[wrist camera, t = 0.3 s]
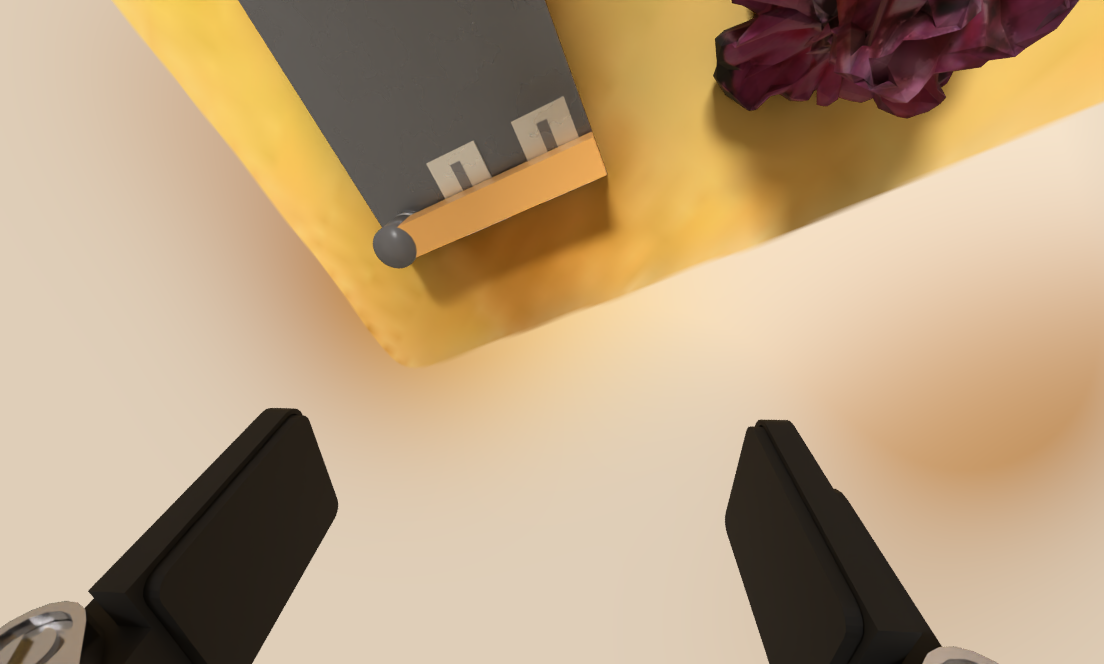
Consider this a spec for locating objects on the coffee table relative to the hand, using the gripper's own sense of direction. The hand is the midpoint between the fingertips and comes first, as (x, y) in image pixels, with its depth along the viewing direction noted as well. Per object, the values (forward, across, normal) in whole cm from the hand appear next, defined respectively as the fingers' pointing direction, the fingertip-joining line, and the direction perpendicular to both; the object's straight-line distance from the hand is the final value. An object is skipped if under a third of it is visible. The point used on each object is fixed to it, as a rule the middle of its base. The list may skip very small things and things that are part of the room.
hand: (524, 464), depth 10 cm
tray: (+29, +9, -7) cm, 31 cm away
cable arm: (+27, +6, 0) cm, 27 cm away
